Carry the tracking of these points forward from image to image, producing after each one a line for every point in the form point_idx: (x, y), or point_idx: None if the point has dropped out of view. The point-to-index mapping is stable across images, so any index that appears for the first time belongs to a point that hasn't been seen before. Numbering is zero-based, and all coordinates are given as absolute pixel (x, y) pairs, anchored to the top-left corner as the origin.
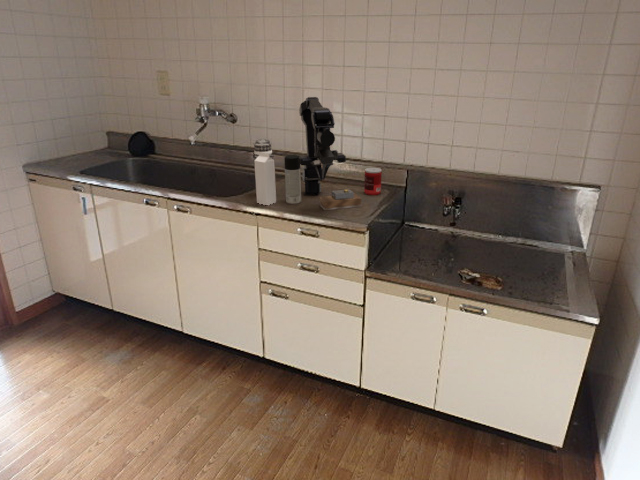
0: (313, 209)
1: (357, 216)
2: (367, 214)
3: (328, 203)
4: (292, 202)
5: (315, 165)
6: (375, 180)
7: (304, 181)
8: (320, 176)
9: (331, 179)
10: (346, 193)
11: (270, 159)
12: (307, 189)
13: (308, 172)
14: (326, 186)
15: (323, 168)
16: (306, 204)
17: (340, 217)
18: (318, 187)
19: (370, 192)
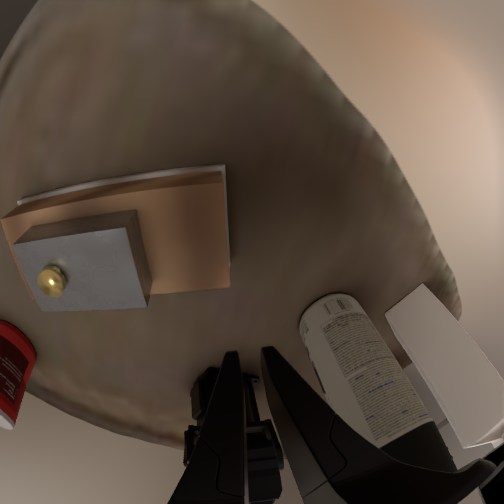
0: (281, 196)
1: (71, 37)
2: (21, 70)
3: (194, 180)
4: (348, 296)
5: (492, 469)
6: None
7: (270, 420)
8: (291, 376)
9: (149, 442)
10: (49, 237)
11: (489, 436)
12: (248, 394)
13: (267, 455)
14: (165, 418)
15: (246, 487)
16: (290, 279)
17: (165, 25)
18: (204, 399)
19: (8, 331)
